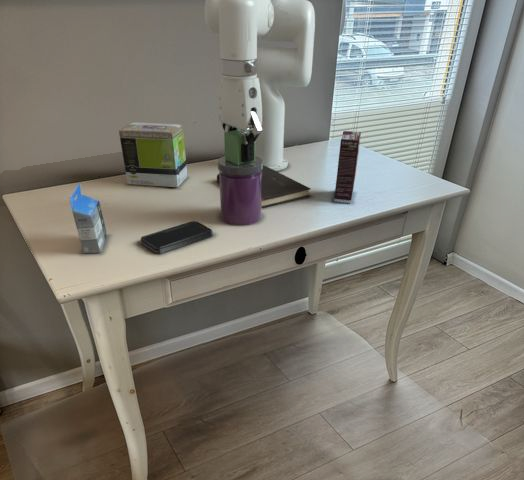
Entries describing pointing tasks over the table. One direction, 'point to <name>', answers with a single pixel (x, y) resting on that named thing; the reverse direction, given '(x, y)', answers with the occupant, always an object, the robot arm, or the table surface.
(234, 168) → the jar
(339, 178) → the supplement box
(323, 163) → the table surface
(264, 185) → the hardcover book
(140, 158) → the tea box
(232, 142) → the green block
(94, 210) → the label tape box
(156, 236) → the phone
